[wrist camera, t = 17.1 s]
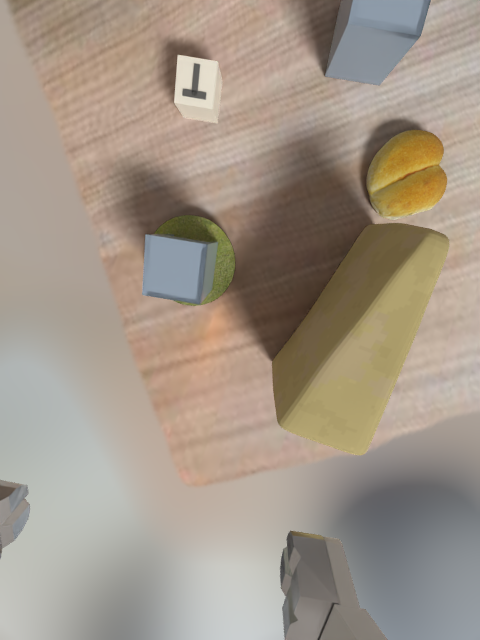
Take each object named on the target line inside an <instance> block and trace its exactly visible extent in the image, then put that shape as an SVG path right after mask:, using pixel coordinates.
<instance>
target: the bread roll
mask: <svg viewBox="0 0 480 640" xmlns="http://www.w3.org/2000/svg"><path fill="white" fill-rule="evenodd" d="M443 153H444V149H443V145H442V142H441V141H440V139H439V138H438V137H437V136H435V135H434V134H433V133H430V132H427V131H422V130H409V131H405V132H402V133H400V134H398V135H396V136H394V137H393V138H391V139H390V140H389V141H388V142H387V143H386V144H385V145H384V146H383V147H382V148H381V149H380V150H379V151H378V152H377V153H376V155H375V156H374V158H373V160H372V162H371V164H370V166H369V169H368V173H367V190H368V193H369V197H370V202H371V204H372V206H373V208H374V209H375V211H376V212H377V213H378V214H379V215H380V216H381V217H383V218H387V219H391V220H396V219H400V218H404V217H407V216H410V215H415V214H417V213H419V212H423V211H427V210H431V209H432V208H433V206H434V205H435V204H436V203H437V202H438V201H439V200H440V199H441V197H442V196H443V194H444V192H445V189H446V185H447V177H446V174H445V172H444V170H443V169H442V168H441V167H440V166H439V164H440V161H441V159H442V156H443Z"/></svg>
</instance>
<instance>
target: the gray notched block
mask: <svg viewBox="0 0 480 640" xmlns="http://www.w3.org/2000/svg"><path fill="white" fill-rule="evenodd" d="M430 1H431V0H341V3H340V6H339V11H338V15H337V20H336V25H335V30H334V35H333V39H332V44H331V49H330V54H329V59H328V63H327V68H326V73H325V76H326V77H332V78H338V79H344V80H350V81H356V82H362V83H368V84H374V85H380V84H381V83H382V82H383V80H384V79H385V78H386V77H387V76H388V74H389V73H390V72H391V71H392V70H393V68H394V67H395V66H396V65H397V64H398V63H399V61H400V60H401V59H402V58H403V57H404V55H405V54H406V53H407V52H408V51H409V49H410V48H411V47H412V46H413V45H414V43H415V42H416V41H417V40H418V39H419V37H420V36H421V33H422V30H423V26H424V22H425V19H426V15H427V12H428V8H429V5H430Z"/></svg>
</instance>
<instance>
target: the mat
mask: <svg viewBox="0 0 480 640" xmlns="http://www.w3.org/2000/svg"><path fill="white" fill-rule="evenodd" d="M154 234H174V236H176V237H182V238H188V239H194V240H200V241H206V242H213V241H216V242H218V248H217V255H216V263H215V271H214V278H213V286H212V290H211V292H210V293H209V294H208V295H207V297H206V298H205V299H204V301H203V302H202V303H201V304H200V305H203V304H207V303H209V302H212V301H214V300H215V299H217V298H218V297H219V296H221V295H222V294H223V293H224V292H225V290H226V289H227V288H228V287H229V285H230V282H231V281H232V278H233V276H234V275H233V274H234V271H235V256H234V252H233V248H232V245H231V243H230V241H229V239H228V237H227V236H226V235H225V233H224V232H223V230H221V229H220V227H218V226H217V225H216V224H215V223H213V222H211V221H210V220H207V219H205V218H203V217H199V216H193V215H184V216H178V217H174V218H172V219H170V220H168V221H166V222H165V223H163V224H162V225H161V226H160V227H159V228H158V229H157V230H156V232H155V233H154ZM174 301H175V300H174ZM176 302H178V303H181V304H185V305H191V306H192V305H193V306H196V305H199V304H193V303H187V302H181V301H176Z"/></svg>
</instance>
